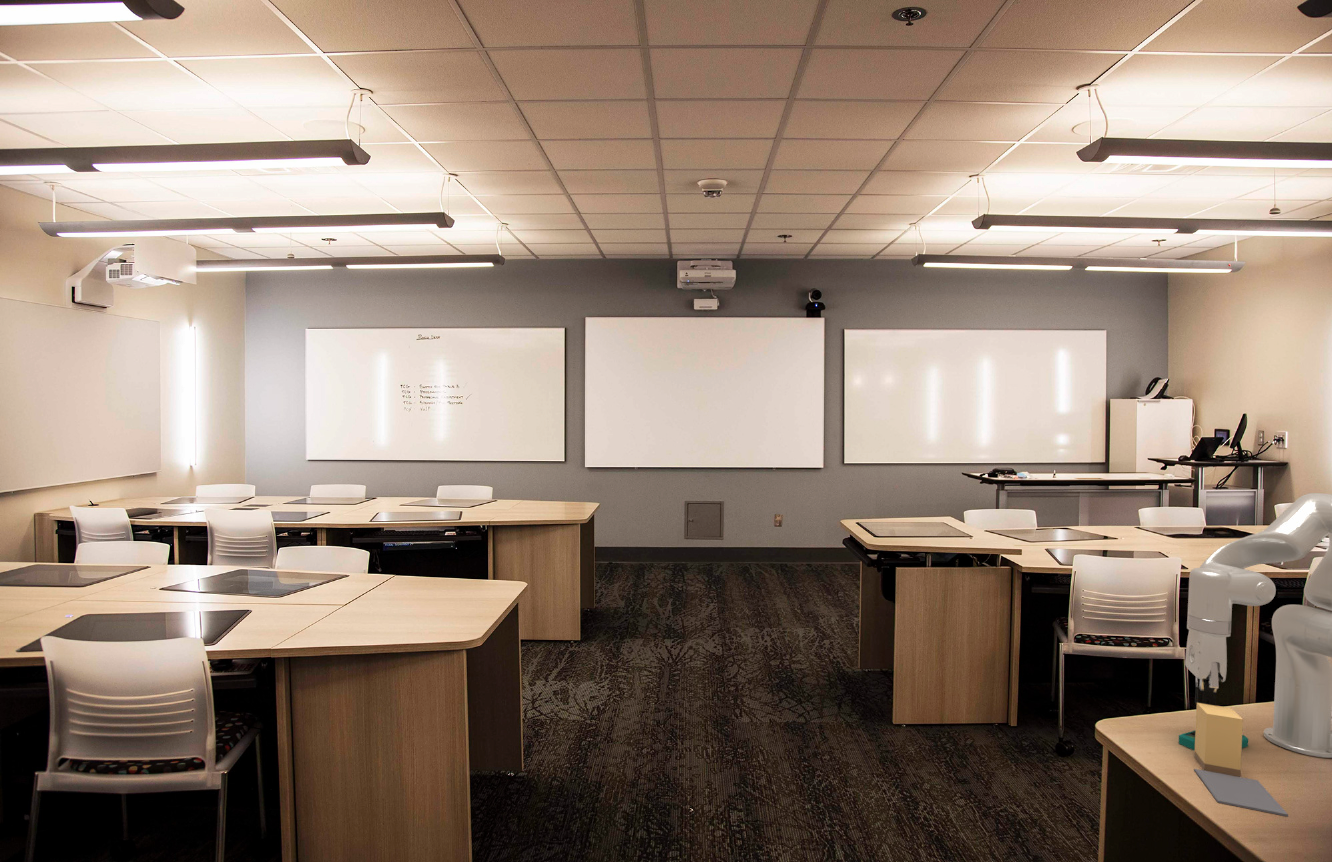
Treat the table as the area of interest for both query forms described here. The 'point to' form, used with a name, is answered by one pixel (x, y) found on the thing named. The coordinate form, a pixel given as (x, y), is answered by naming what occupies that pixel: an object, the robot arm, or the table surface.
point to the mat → (1240, 792)
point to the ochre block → (1218, 739)
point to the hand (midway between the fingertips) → (1204, 707)
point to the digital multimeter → (1189, 740)
